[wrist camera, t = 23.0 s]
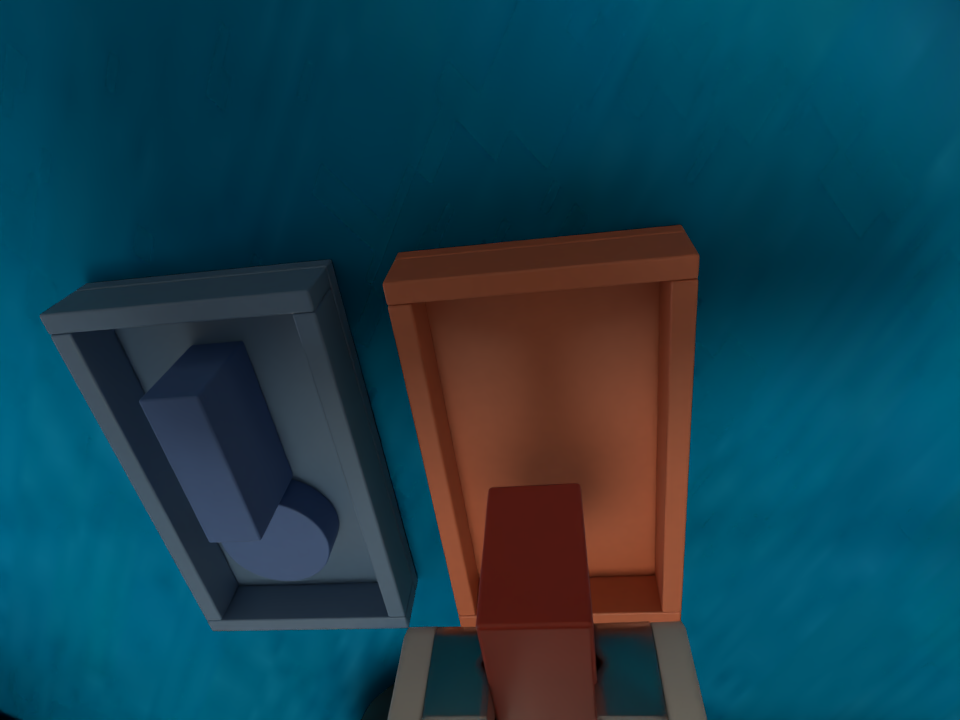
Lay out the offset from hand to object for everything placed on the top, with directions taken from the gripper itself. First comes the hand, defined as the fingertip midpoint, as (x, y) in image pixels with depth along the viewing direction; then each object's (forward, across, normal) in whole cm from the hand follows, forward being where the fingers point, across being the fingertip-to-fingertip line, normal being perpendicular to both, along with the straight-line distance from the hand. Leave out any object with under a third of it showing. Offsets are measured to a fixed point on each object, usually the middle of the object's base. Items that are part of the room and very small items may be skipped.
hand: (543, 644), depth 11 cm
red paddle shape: (+2, 0, +2) cm, 3 cm away
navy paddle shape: (+8, +9, +2) cm, 12 cm away
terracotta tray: (+9, 0, +2) cm, 9 cm away
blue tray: (+9, +9, +2) cm, 12 cm away
